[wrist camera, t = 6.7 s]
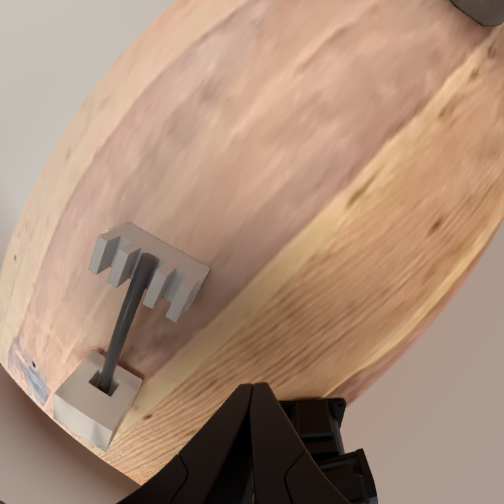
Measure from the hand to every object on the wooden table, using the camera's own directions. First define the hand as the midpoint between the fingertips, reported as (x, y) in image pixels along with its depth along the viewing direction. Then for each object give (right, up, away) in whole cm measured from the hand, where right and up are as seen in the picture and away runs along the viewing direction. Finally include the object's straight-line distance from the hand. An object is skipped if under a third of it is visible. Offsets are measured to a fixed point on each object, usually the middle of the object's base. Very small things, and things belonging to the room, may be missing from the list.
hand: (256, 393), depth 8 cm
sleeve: (-13, -7, +16) cm, 21 cm away
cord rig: (-11, -3, +14) cm, 18 cm away
